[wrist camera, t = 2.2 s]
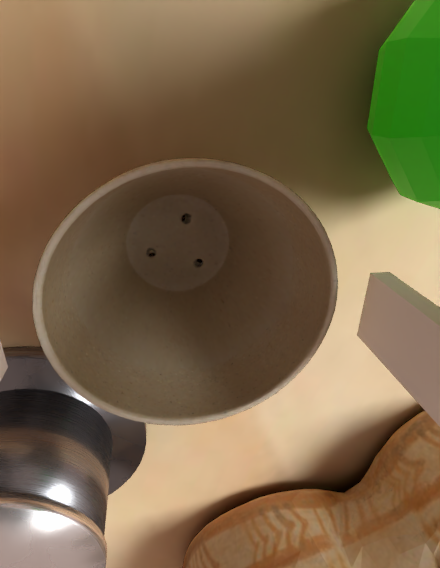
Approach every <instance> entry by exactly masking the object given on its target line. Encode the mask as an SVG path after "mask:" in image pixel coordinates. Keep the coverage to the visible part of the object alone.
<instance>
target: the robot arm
mask: <svg viewBox="0 0 440 568" xmlns="http://www.w3.org/2000/svg"><path fill="white" fill-rule="evenodd" d="M357 336H358V337H359V338H360V339H361V340H362V341H363V342H364V343H365V344H366V346H367V347H368V348H369V349H370V350H371V351H372V352H373V353H374V354H375V356H376V357H377V358H378V359H379V360H380V361H381V362H382V363H383V364H384V366H385V367H386V368H387V369H388V370H389V371H390V372H391V373H392V374H393V375H394V377H395V378H396V379H397V380H398V381H399V382H400V383H401V384H402V385H403V387H404V388H405V389H406V390H407V391H408V392H409V393H410V394H411V395H412V397H413V398H414V399H415V400H416V401H417V402H418V403H419V404H420V405H421V407H422V408H423V409H424V410H425V411H426V412H427V413H428V414H429V415H430V417H431V418H432V419H433V420H434V421H435V422H436V423H437V424H438V425H439V427H440V307H438V306H437V305H435V304H434V303H433V302H431V301H430V300H428V299H427V298H425V297H424V296H423V295H421V294H420V293H418V292H417V291H415V290H414V289H413V288H411V287H410V286H408V285H407V284H405V283H404V282H403V281H401V280H400V279H398V278H397V277H396V276H394V275H393V274H391V273H390V272H381V273H370V277H369V282H368V287H367V291H366V296H365V301H364V305H363V310H362V314H361V319H360V324H359V328H358V333H357ZM7 368H8V365H7V362H6V358H5V355H4V351H3V348H2V345H1V341H0V381H1V379H2V378H3V376H4V374H5V372H6V370H7Z"/></svg>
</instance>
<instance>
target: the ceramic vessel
mask: <svg viewBox="0 0 440 568" xmlns="http://www.w3.org/2000/svg"><path fill="white" fill-rule="evenodd" d="M182 568H440V427H439V425H438V424H437V423H436V422H435V421H434V420H433V419H432V418H431V417H430V415H429V414H428V413H427V412H426V411H423V412H421V413H419V414H417V415H416V416H415V417H413V418H412V419H411V420H409V421H408V422H406V423H405V424H404V425H402V426H401V427H400V428H399V429H398V430H397V431H396V432H395V433H394V434H393V435H392V436H391V437H390V439H389V440H388V441H387V442H386V444H385V445H384V446H383V447H382V449H381V450H380V451H379V452H378V454H377V455H376V456H375V458H374V460H373V462H372V464H371V466H370V468H369V469H368V471H367V472H366V474H365V476H364V477H363V479H362V480H361V482H360V483H358V484H357V485H355V486H354V487H352V488H351V489H349V490H348V491H346V492H345V493H341V492H334V491H327V490H321V489H299V490H292V491H285V492H278V493H274V494H270V495H267V496H263V497H259V498H257V499H254V500H252V501H249V502H247V503H245V504H243V505H241V506H238V507H236V508H234V509H232V510H230V511H228V512H226V513H224V514H223V515H221V516H219V517H218V518H216V519H215V520H213V521H212V522H210V523H209V524H207V525H206V526H205V527H204V528H203V529H202V530H201V531H200V532H199V533H198V534H197V535H196V537H195V538H194V539H193V540H192V542H191V543H190V545H189V547H188V549H187V552H186V555H185V558H184V562H183V567H182Z"/></svg>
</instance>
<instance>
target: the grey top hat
mask: <svg viewBox="0 0 440 568" xmlns="http://www.w3.org/2000/svg"><path fill="white" fill-rule="evenodd" d="M3 351H4V355H5V358H6V362H7V365H8V368H7V370H6V372H5V374H4V376H3V378H2V379H1V381H0V568H105V567H106V557H107V545H106V541H105V538H104V531H105V521H106V510H107V500H108V495H109V494H111V493H113V492H114V491H115V490H117V489H118V488H119V487H121V486H122V485H123V484H124V483H125V482H126V481H127V480H128V479H129V478H130V477H131V476H132V474H133V473H134V472H135V471H136V469H137V467H138V466H139V464H140V462H141V460H142V457H143V455H144V451H145V446H146V423H144V422H139V421H134V420H130V419H126V418H124V417H120V416H117V415H115V414H112V413H110V412H107V411H105V410H103V409H101V408H99V407H98V406H95V405H94V404H92V403H91V402H89V401H87V400H86V399H84V398H83V397H82V396H80V395H79V394H78V393H77V392H75V391H74V390H73V389H72V388H71V387H70V386H69V385H67V384H66V383H65V381H64V380H63V379H62V378H61V377H60V376H59V375H58V374H57V372H56V371H55V370H54V368H53V367H52V365H51V363H50V362H49V360H48V359H47V357H46V355H45V354H44V351H43V349H42V347H10V348H3Z"/></svg>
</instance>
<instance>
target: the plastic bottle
mask: <svg viewBox="0 0 440 568" xmlns="http://www.w3.org/2000/svg"><path fill="white" fill-rule="evenodd" d="M367 130H368V132H369V134H370V136H371V138H372V140H373V142H374V144H375V146H376V148H377V151H378V153H379V155H380V157H381V159H382V161H383V163H384V165H385V167H386V169H387V171H388V173H389V176H390V178H391V180H392V182H393V183H394V185H395V187H396V188H397V190H398V192H399V194H400V195H402V196H404V197H407V198H409V199H412V200H414V201H416V202H419V203H423V204H426V205H429V206H432V207H436V208H439V209H440V0H414V2H413V3H412V4H411V6H410V7H409V9H408V10H407V11H406V13H405V14H404V16H403V17H402V18H401V20H400V21H399V23H398V24H397V25H396V27H395V28H394V30H393V31H392V32H391V34H390V35H389V37H388V38H387V39H386V41H385V42H384V43H383V45H382V46H381V48H380V49H379V52H378V59H377V65H376V72H375V78H374V85H373V91H372V98H371V105H370V111H369V118H368V124H367Z"/></svg>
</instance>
